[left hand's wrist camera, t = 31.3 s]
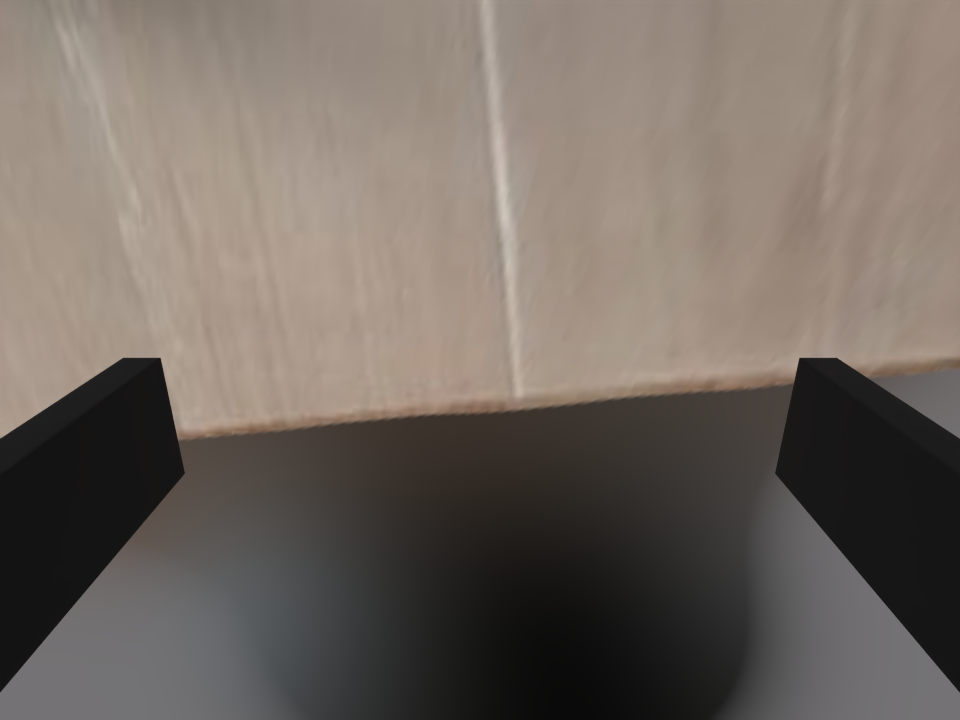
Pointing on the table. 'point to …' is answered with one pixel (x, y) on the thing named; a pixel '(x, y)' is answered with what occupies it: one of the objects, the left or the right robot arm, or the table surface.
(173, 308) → the table surface
